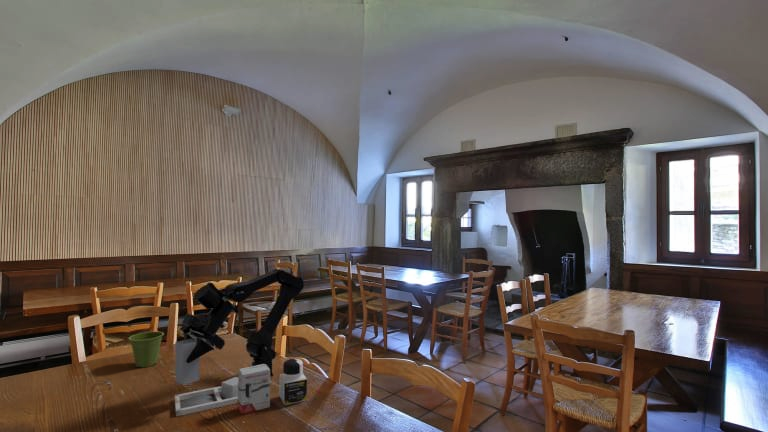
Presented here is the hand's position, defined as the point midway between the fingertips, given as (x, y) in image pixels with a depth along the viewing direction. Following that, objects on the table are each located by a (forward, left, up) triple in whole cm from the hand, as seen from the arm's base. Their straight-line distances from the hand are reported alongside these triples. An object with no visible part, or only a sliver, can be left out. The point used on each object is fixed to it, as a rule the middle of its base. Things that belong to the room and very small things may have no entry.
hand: (183, 360), depth 121 cm
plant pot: (+10, -44, -14) cm, 47 cm away
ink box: (-19, +13, -14) cm, 26 cm away
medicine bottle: (-31, +13, -14) cm, 36 cm away
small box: (-15, +2, -14) cm, 20 cm away
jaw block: (-1, -1, -7) cm, 7 cm away
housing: (-9, +2, -13) cm, 16 cm away
